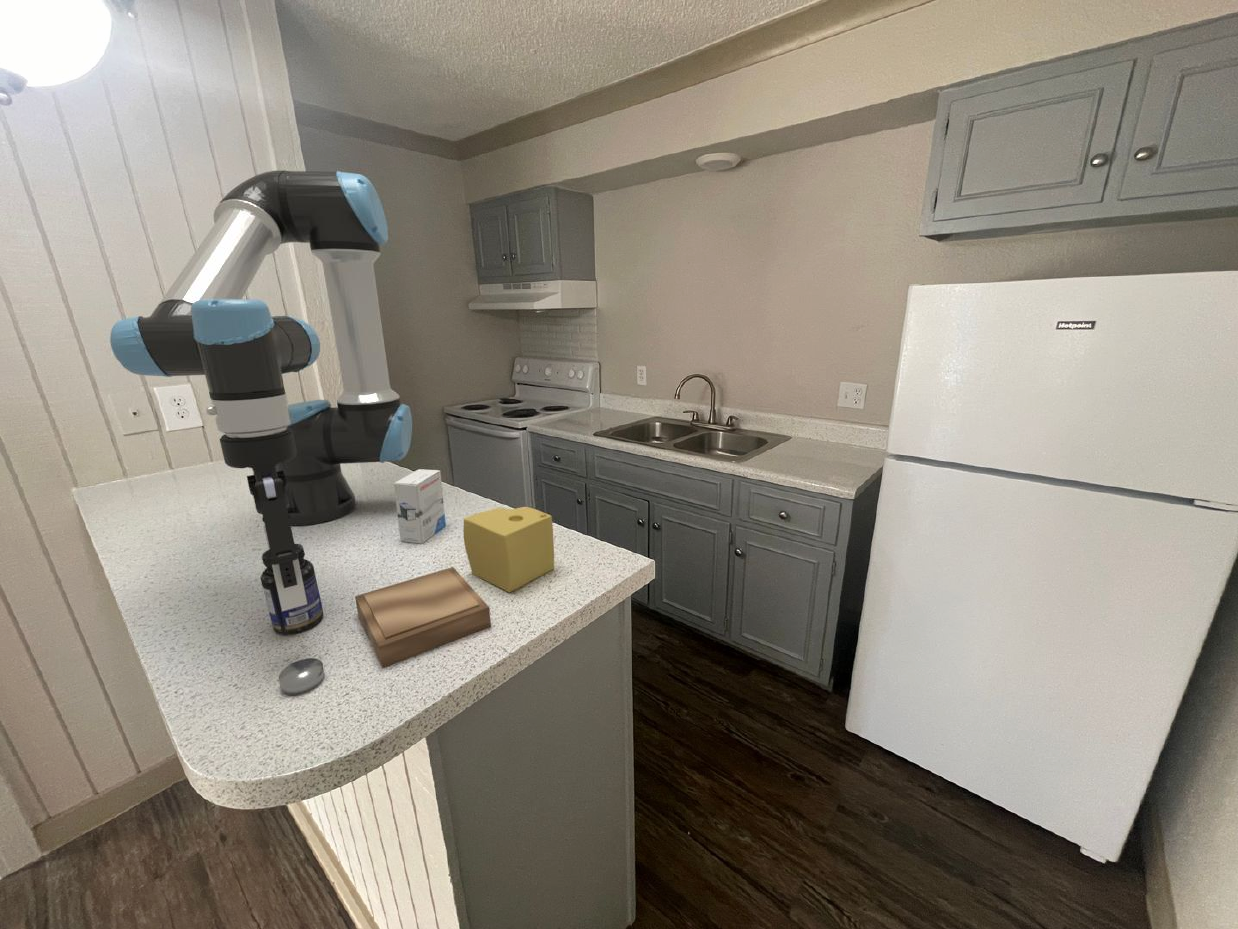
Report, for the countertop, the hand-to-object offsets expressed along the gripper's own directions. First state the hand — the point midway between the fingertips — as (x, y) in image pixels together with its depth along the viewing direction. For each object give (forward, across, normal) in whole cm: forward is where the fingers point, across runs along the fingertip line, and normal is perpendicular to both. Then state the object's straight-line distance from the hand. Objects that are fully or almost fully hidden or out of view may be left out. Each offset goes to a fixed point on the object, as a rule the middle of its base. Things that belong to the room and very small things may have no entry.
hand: (288, 584), depth 69 cm
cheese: (+6, +4, +30) cm, 31 cm away
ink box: (+6, -20, +23) cm, 31 cm away
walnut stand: (+6, +10, +14) cm, 18 cm away
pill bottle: (+6, 0, 0) cm, 6 cm away
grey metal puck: (+7, +14, -1) cm, 15 cm away
